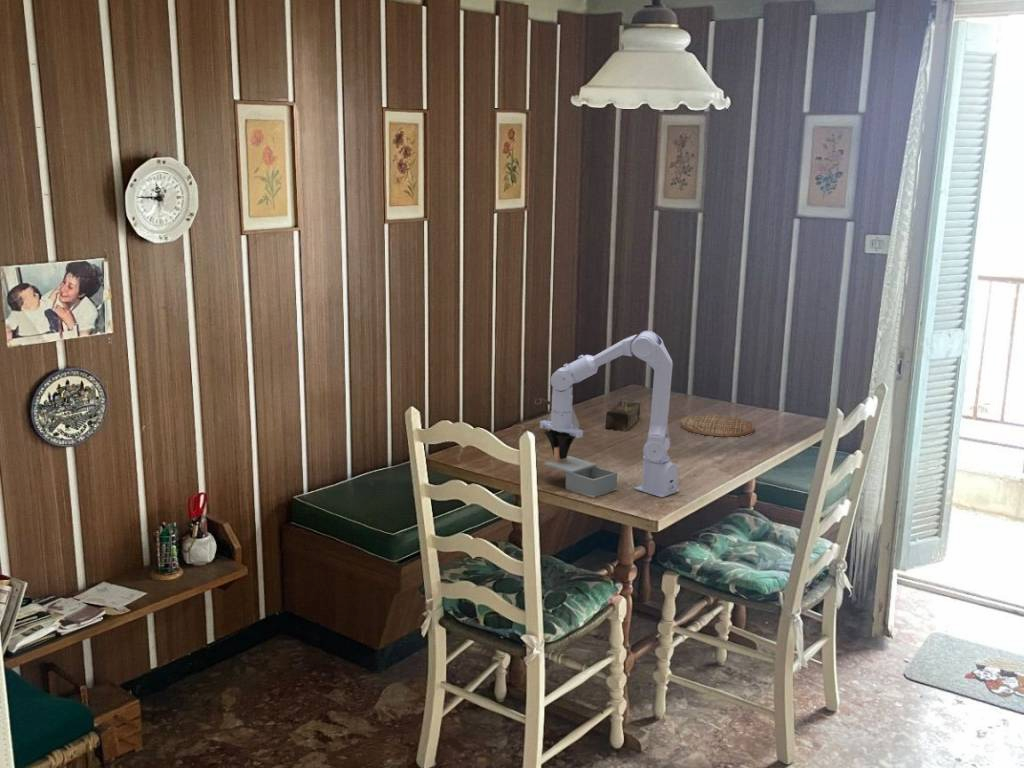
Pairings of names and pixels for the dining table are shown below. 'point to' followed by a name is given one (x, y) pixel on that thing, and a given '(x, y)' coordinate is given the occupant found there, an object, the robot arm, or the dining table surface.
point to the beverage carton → (622, 416)
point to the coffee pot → (574, 418)
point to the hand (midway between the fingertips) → (560, 457)
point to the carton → (592, 482)
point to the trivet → (717, 425)
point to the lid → (568, 463)
